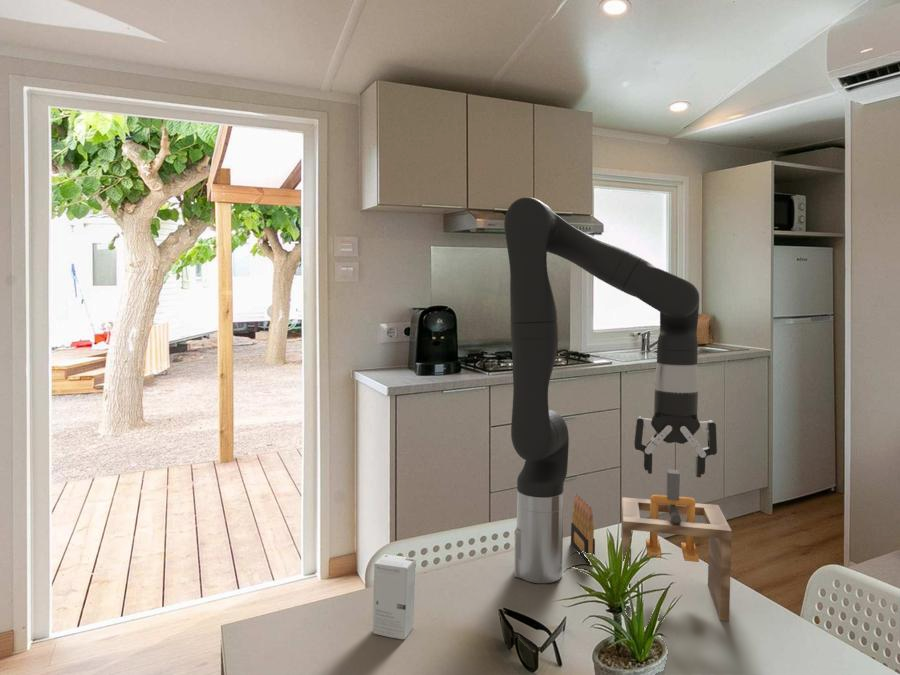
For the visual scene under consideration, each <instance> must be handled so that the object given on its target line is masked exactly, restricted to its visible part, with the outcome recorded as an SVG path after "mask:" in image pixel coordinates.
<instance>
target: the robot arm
mask: <svg viewBox="0 0 900 675" xmlns="http://www.w3.org/2000/svg"><path fill="white" fill-rule="evenodd" d="M503 223H504V224H503V227H504V235H505V241H506V242H505V243H506V246H507V255H508V256H507V257H508V261H509V262H508V263H509V274H510V278H509V280H510V281H509V283H510V284H509V285H510V286H509V287H510V288H509V293H510V294H509V297H510V298H509V301H510V304H509V305H510V341H511V353H512V354H511V355H512V356H511V357H512V382H513V383H512V384H513V385H512V386H513V387H512V388H513V390H512V393H513V394H512V395H513V396H512V409H511V428H510V435H511V436H510V438H511V443H512V446H513V448H514V450H515V452H516V453H517V454H518V456H519V457H520V458H521V459H522V460H525V461H524V464H523V468H522V469H521V471H520V472H519V474H518V476H517V480H516V481H517V482H516V489H517V490H516V493H517V494H516V527H515V530H514V577H515V578H520V579H522V580H523V581H526V582H530V583H532V584H533V583H536V584H550V583H554V582H557V581H559V580H560V579H561V578H562V577H563V548H564V547H563V543H564V542H563V541H564V540H563V539H564V538H563V536H564V526H563V525H564V484H565V481H566V477H567V473H568V467H569V466H568V461H569V446H570V445H569V444H570V442H569V440H570V439H569V429H568V425H567V423H566V420H565V419H564V418H563V417H562V416H561V415H560V414H559V413H558V412H557V411H554V410H551V409H549V385H550V381H551V376H552V373H553V368H554V367H555V366H554V365H555V363H556V362H555V361H556V357H557V353H558V349H559V348H558V347H559V331H558V329H559V327H558V312H557V306H556V301H555V296H554V294H553V289H552V286H551V283H550V279H549V274H548V262H547V259H548V258H547V255H548V253H550V254H553V255H555V256H558V257H560V258H562V259H564V260H567V261H569V262H571V263H573V264H574V265H576V266H578V267H579V268H581V269H583V270H584V271H586V272H587V273H589V274H590V275H592V276H594V277H595V278H596V279H598V280H600V281H602V282H604V283H606V284H607V285H608V286H611V287H614V288H615V289H617V290H619V291H621V292H623V293H625V294H627V295H629V296H632V297H635V298H637V299H638V300H640V301H642V302H643V303H645V304H646V305H648V306H650V307H652V309H655V310H657V311H658V312H659V335H658V338H657V343H656V344H657V345H656V368H655V373H654V382H653V384H654V385H653V386H654V398H653V400H654V403H653V404H654V409H653V416H652V417H651V418H645V417H643V416H641V415H639V416H637V417H636V421H635V433H634V442H633V443H634V444H633V445H634V449H635V450H637V451H640V452H642V453H643V467H644V468H643V469H644V471H647V474H653V451H654V450H655V449H656V448H657V447H658V446H659V445H660V444H662V442H664V443H666V444H673V443H677V444H681V445H684V444H686V443H689V444H690V445H691V447H692V448H693V450H695V452H696V453H697V454H696V455H695V477H696V478H702V475H705V473H706V459H707V457H709V456H716V455H717V453H718V445H717V424H716V423H715V421H714V420H712V419H709V420H707V421H705V420H703V421H700V420H699V419H698V407H699V406H698V405H699V404H698V403H699V402H698V400H699V370H698V356H699V355H698V352H699V350H698V349H699V348H698V347H699V345H698V343H699V342H698V336H697V335H698V333H697V332H698V320H699V310H700V292H699V290H698V289H697V287H696V286H695V285H694V284H693V283H691V282H690V281H688V280H686V279H684V278H682V277H680V276H678V275H675V274H672V273H670V272H668V271H666V270H664V269H661V268H659V267H656V266H655V265H653V264H652V263H650V262H649V261H648V260H645V259H644V258H642V257H640V256H638V255H636V254H633V253H632V252H630V251H628V250H625V249H624V248H622V247H619V246H617V245H615V244H613V243H610V242H607V241H604V240H602V239H599V238H597V237H595V236H593V235H590V234H588V233H586V232H584V231H582V230H580V229H578V228H577V227H575V226H574V225H572V224H570V223H569V222H567V221H566V220H564V219H563V218H562V217H561V216H559V215H558V214H557V213H556V212H554V211H553V210H552V209H551V207H550V206H548V205H547V204H546V203H544V202H542V201H541V200H539V199H537V198H534V197H529V196H526V197H525V196H524V197H520V198H517V199H516V200H514V201H513V202H512V203H511V204H510V206H508V209H507V210H506V213H505V216H504V220H503ZM648 426H651V427H652V428H653V430H654V431H655V433H654V434H653V435H652V436H651V438H650V439H649V441H647V443H643V433H644V431H645V430H647V429H648V428H649V427H648ZM700 428H702V431H703V432H704V434H706V436H707V437H706V438H707V439H706V440H707V446H705V447H702V445H701V444H700V443H699V442H698V440H697V438H695V436H694V435H695V434H696V433H697V431H699V430H700Z"/></svg>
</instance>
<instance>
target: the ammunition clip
mask: <svg viewBox="0 0 900 675" xmlns="http://www.w3.org/2000/svg"><path fill="white" fill-rule="evenodd" d="M573 500H574V501H573V508H572V522H571V527H570V545H571V546H572V548H575V549H576V550H577V551H578V552H580V555H579V556H580V558H581V559H582V560H583V561H584V562H585V563H586V564H590V563H589V561H588V559H587V558H586V557H585V556H584V554H583V553H581V552H582V551H584V552H586V553H592V554H594V555H595V556H596V539H595V537H594V532H595V531H594V530H595V527H594V516H593V509H592V506H589V503H587V502H586V501H585V500H584V499H583V498H581V497H580V495H578V493H575V495H574V499H573ZM575 549H574V550H575ZM576 550H575V551H576ZM577 551H576V552H577ZM578 552H577V553H578Z"/></svg>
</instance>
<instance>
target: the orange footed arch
mask: <svg viewBox="0 0 900 675" xmlns="http://www.w3.org/2000/svg"><path fill="white" fill-rule="evenodd" d="M680 477H681V474H680V471H679V469H670V468H669V469H666V495H667V496H666V495H665V494H664V495H661V494H652V495H651V496H650V497H649V499H650V501H651V507H650V511H649V512H650V518H649V519H657V520H659V512H658V504H666V505H679V506H687V514H686V521H685V522H691V523H696V519H695V518H696V517H695V516H696V515H695V504H696V503H697V502H696V499H695V498H693V497H688V496H680ZM658 536H659V533H657V532H649V538H646V539H645V546H646V554H647V557H648V556H652V555H660V556H657V557H654V558H656V559H662V548H661V544H660V543H661V542H660V540H659V539H658V538H659V537H658ZM680 548H681V551H682V552H681V553H682V556H683V559H684V561H685V562H695V563H700V562H699V561H700V557H699V554H698V549H697V547H696V544H695V536H689V535H685V542H682V541H681V542H680Z"/></svg>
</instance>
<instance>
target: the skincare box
mask: <svg viewBox="0 0 900 675" xmlns="http://www.w3.org/2000/svg"><path fill="white" fill-rule="evenodd" d="M416 561H417V560H416V558H411V557H405V556H401V555H391V554H387V553H384V554H382V555H381V556H380V558H378V559H377V560H376V561H375V563H374V567H373V572H374V573H373V574H374V575H373V603H372V604H373V607H372V608H373V611H372V614H373V615H372V633H373V634H374V635H379V636H381V637H382V636H383V637H388V638H393V639H397V640H406V638H408V636H409V635H410V633H411V632H412V630H413V629H414V627H415V626H414V625H415V593H416V588H415V587H416V564H417V563H416Z"/></svg>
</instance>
